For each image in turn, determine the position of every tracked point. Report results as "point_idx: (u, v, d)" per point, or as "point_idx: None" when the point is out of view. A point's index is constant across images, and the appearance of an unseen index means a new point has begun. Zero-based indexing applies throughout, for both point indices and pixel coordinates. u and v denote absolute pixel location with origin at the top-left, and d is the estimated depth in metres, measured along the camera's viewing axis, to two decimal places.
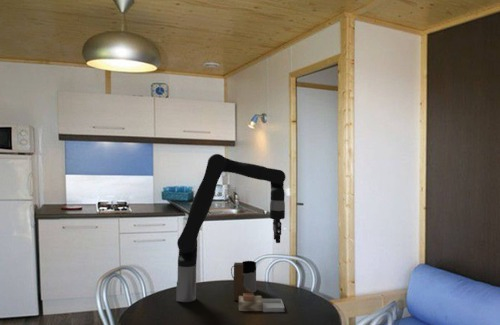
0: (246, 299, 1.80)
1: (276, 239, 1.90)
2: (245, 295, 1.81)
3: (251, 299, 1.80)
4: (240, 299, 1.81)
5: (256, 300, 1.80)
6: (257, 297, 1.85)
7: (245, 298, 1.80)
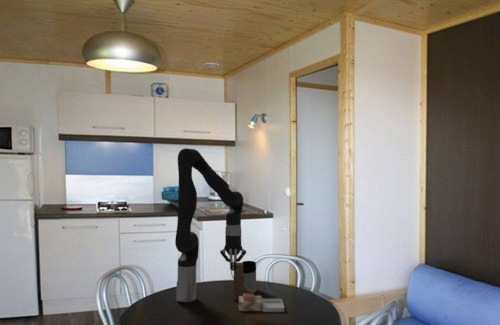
0: (246, 299, 1.80)
1: (234, 267, 1.81)
2: (245, 295, 1.81)
3: (251, 299, 1.80)
4: (240, 299, 1.81)
5: (256, 300, 1.80)
6: (257, 297, 1.85)
7: (245, 298, 1.80)
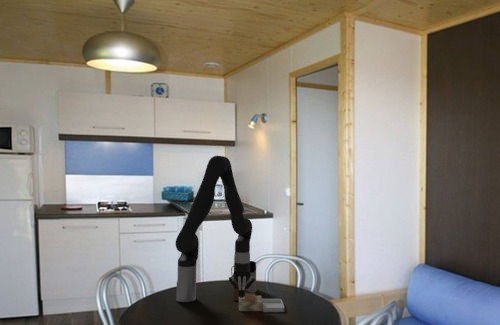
0: (247, 299, 1.80)
1: (243, 294, 1.81)
2: (246, 295, 1.81)
3: (252, 299, 1.80)
4: (240, 299, 1.81)
5: (256, 300, 1.80)
6: (257, 297, 1.85)
7: (247, 298, 1.80)
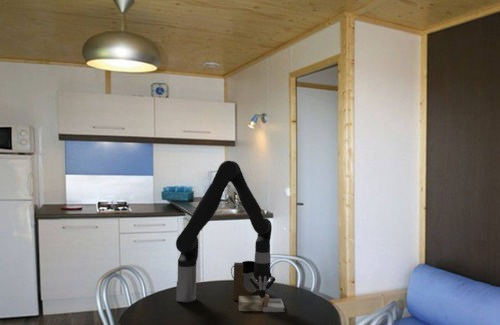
0: (265, 300, 1.80)
1: (263, 294, 1.82)
2: (268, 298, 1.82)
3: (264, 305, 1.80)
4: (240, 299, 1.81)
5: (256, 300, 1.80)
6: (257, 297, 1.85)
7: (267, 300, 1.80)
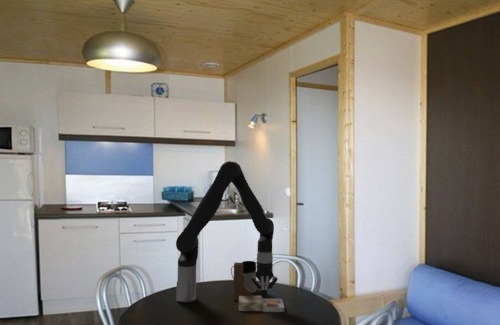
0: (274, 305, 1.80)
1: (265, 294, 1.82)
2: None
3: (269, 305, 1.80)
4: (240, 299, 1.81)
5: (256, 300, 1.80)
6: (257, 297, 1.85)
7: (275, 306, 1.80)
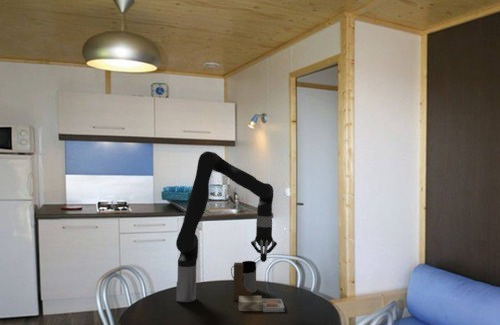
0: (274, 305, 1.80)
1: (265, 258, 1.83)
2: None
3: (269, 305, 1.80)
4: (240, 299, 1.81)
5: (256, 300, 1.80)
6: (257, 297, 1.85)
7: (275, 306, 1.80)
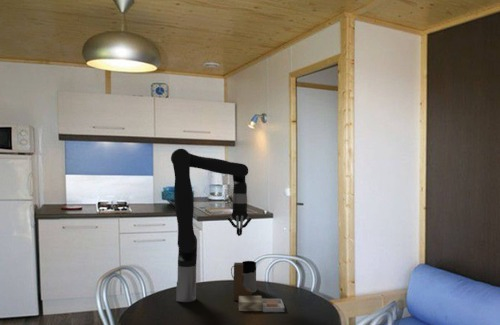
0: (274, 305, 1.80)
1: (240, 232, 1.99)
2: None
3: (269, 305, 1.80)
4: (240, 299, 1.81)
5: (256, 300, 1.80)
6: (257, 297, 1.85)
7: (275, 306, 1.80)
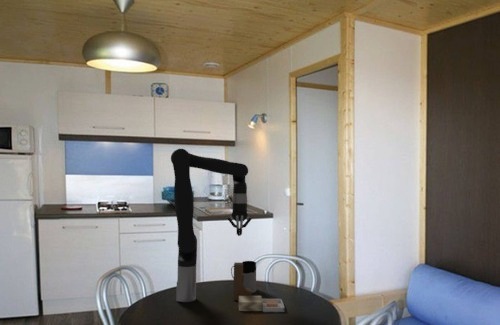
0: (274, 305, 1.80)
1: (240, 232, 1.99)
2: None
3: (269, 305, 1.80)
4: (240, 299, 1.81)
5: (256, 300, 1.80)
6: (257, 297, 1.85)
7: (275, 306, 1.80)
